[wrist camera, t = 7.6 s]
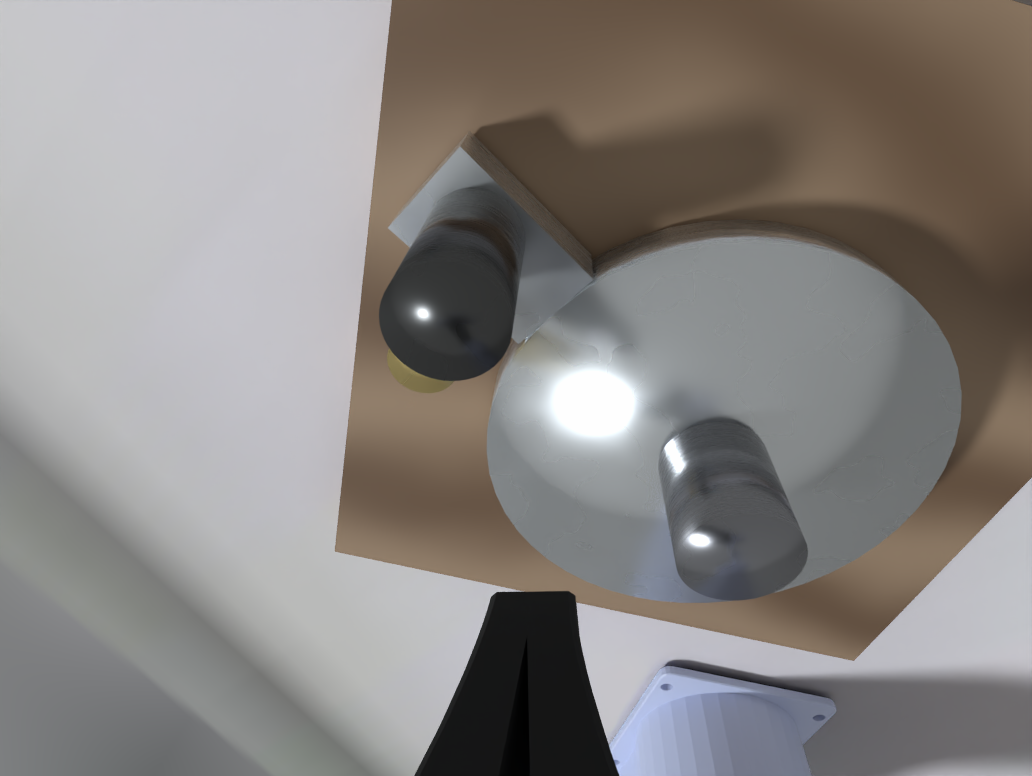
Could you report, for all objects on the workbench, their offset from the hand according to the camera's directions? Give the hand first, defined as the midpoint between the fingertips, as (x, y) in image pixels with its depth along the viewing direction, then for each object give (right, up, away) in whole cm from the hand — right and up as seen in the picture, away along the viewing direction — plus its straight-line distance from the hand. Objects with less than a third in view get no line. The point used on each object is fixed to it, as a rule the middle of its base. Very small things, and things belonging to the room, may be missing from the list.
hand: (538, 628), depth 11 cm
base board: (+5, +4, +8) cm, 10 cm away
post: (+5, +2, +6) cm, 8 cm away
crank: (+3, +4, +6) cm, 8 cm away
